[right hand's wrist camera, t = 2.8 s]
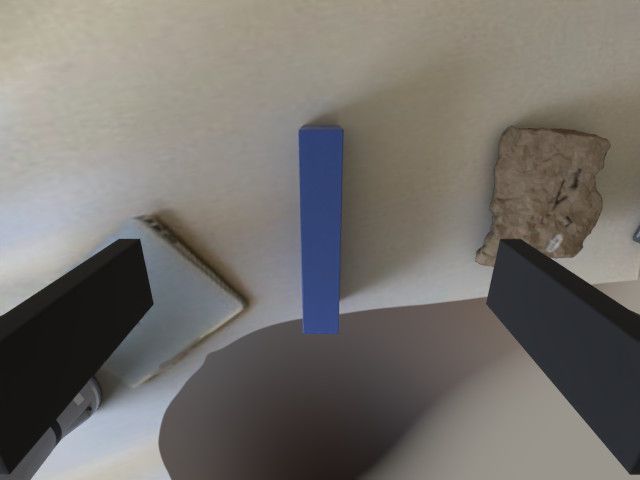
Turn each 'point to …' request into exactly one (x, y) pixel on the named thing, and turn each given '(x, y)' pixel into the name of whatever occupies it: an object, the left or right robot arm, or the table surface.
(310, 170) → the bar
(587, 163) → the stone
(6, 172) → the table surface
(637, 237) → the graphics card box
